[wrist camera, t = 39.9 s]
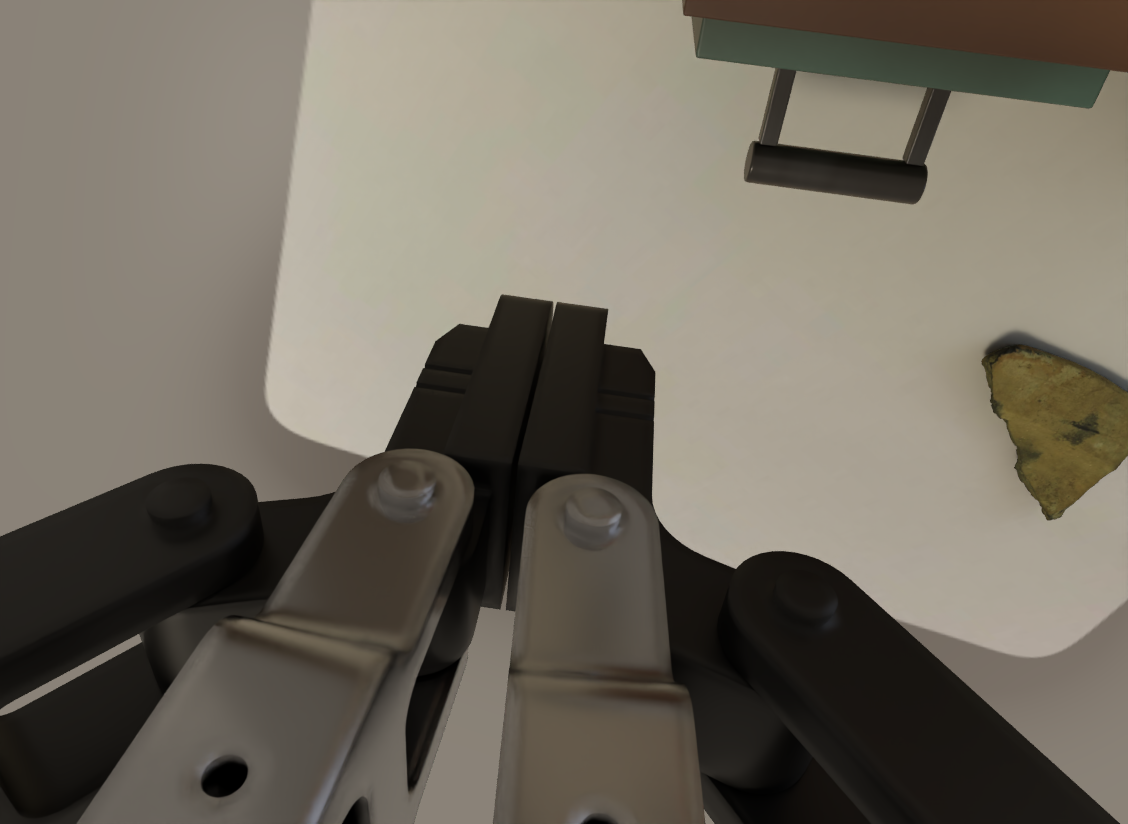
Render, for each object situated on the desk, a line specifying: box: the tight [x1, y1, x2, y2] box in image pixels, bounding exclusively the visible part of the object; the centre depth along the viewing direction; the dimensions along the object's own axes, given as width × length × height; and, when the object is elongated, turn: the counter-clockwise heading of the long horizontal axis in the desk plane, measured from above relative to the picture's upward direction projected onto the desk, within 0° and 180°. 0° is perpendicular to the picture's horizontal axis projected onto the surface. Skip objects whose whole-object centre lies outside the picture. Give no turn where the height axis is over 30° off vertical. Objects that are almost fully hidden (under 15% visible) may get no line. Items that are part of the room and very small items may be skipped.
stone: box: [981, 345, 1128, 520], centre depth 39 cm, size 12×6×2 cm, turn 32°
